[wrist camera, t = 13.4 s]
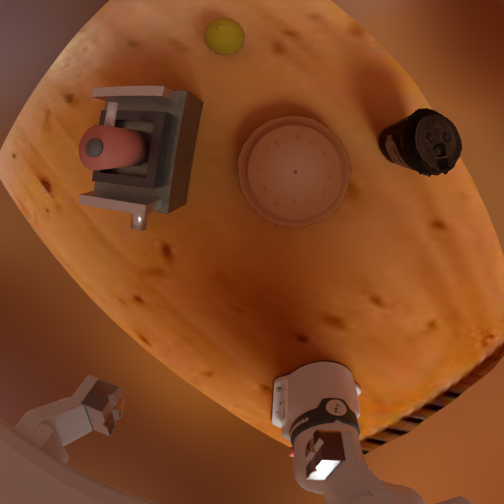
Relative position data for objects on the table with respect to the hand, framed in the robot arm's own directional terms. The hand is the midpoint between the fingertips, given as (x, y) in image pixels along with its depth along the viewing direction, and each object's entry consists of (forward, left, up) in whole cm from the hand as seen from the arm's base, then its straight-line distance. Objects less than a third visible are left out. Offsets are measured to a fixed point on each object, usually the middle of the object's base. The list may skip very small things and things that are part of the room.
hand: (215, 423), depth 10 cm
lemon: (+27, +10, -35) cm, 46 cm away
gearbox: (+7, +18, -35) cm, 40 cm away
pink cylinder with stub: (+10, +18, -27) cm, 34 cm away
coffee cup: (+17, -18, -35) cm, 43 cm away
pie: (+9, -3, -36) cm, 37 cm away
